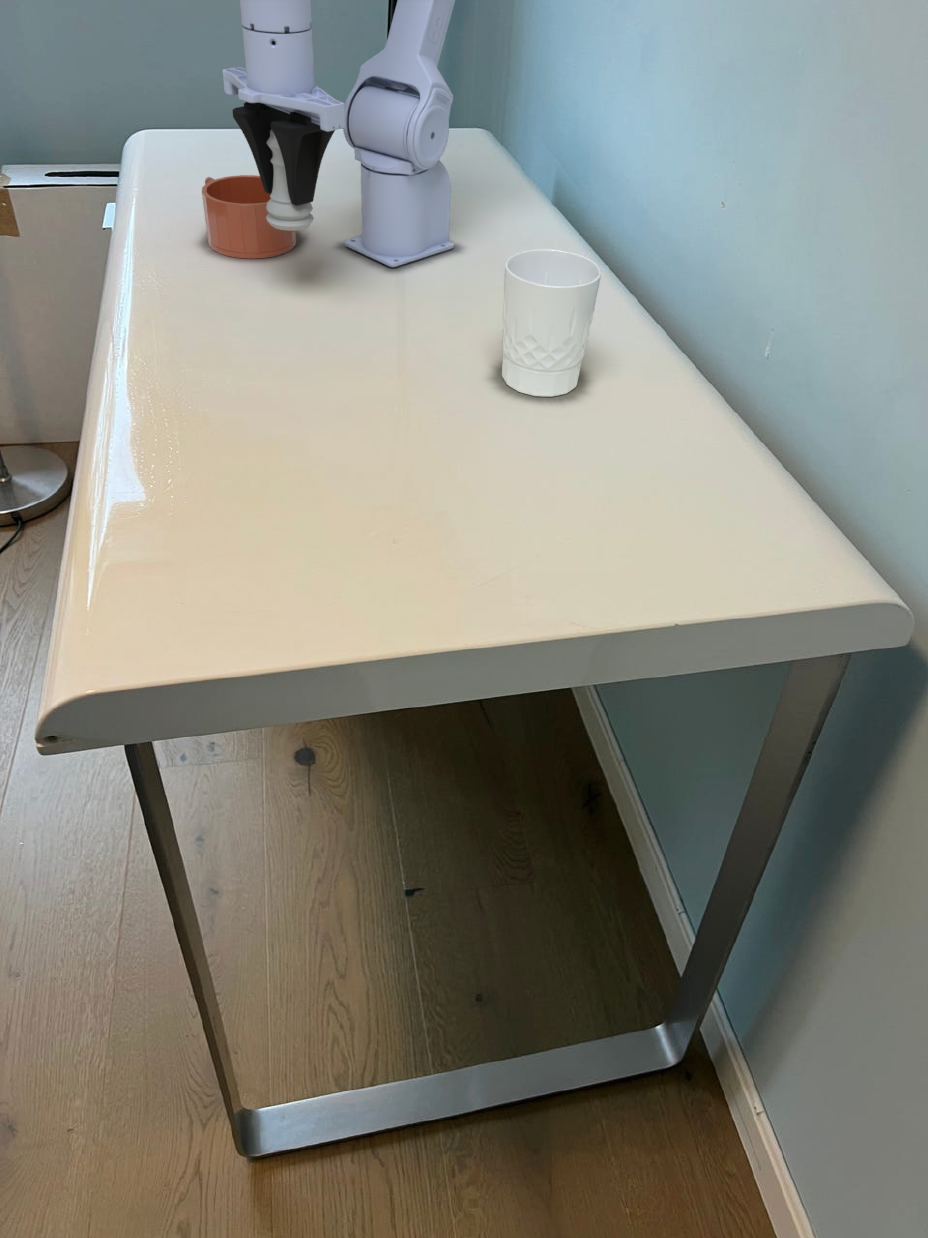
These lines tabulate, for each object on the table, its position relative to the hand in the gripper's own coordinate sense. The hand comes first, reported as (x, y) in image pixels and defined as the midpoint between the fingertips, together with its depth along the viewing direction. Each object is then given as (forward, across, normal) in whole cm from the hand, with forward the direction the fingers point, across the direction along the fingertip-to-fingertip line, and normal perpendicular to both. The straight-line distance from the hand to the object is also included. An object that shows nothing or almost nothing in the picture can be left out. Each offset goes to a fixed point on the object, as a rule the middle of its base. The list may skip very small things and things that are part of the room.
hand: (288, 196), depth 87 cm
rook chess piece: (+3, 0, 0) cm, 3 cm away
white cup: (+10, +27, +6) cm, 30 cm away
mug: (+9, -15, +5) cm, 19 cm away
